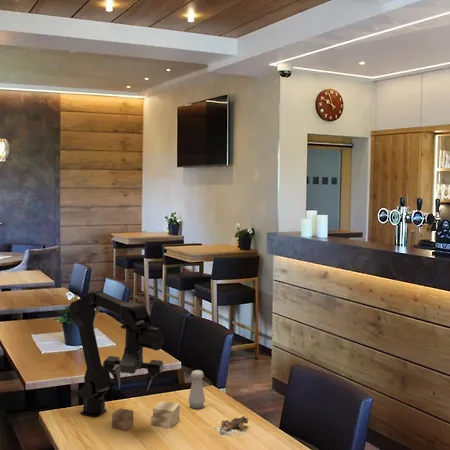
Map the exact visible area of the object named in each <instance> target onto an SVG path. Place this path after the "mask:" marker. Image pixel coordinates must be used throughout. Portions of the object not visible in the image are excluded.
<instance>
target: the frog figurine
mask: <svg viewBox="0 0 450 450" xmlns="http://www.w3.org/2000/svg"><path fill="white" fill-rule="evenodd" d="M220 422H221V424H218V425H217V426H215V427H214V428H215V430H216V431H217V430H218V432H217V433H219V434H220V435H219V436H223V437H224V436H225V437H238V436H243V435H246V434H247V433H246V432H247V431H248V430H247V429H246V428H245V427H244V426H243V425H244V424H247V425H248V422H249V418H248V417H245V416H244V415H243V416H241V417H235V418H233V419H232V420H231V421H229V420H228V419H227V420H222V421H220ZM238 430H239V432H242V433H240V434H236V433H237V432H238ZM234 434H236V435H234Z"/></svg>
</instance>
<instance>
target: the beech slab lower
mask: <svg viewBox="0 0 450 450" xmlns="http://www.w3.org/2000/svg"><path fill="white" fill-rule="evenodd" d="M180 415H181V414H180V412H179V414H178V415H177V416H176V417H175V419H174V420H168V419H159V418H153V415H151V417H150V425H151V426H157V427H163V428H167V429H168V428H169V429H171V428H172V427H173V426H175V425H176V424H177V423H178V422H179V421H180Z"/></svg>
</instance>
